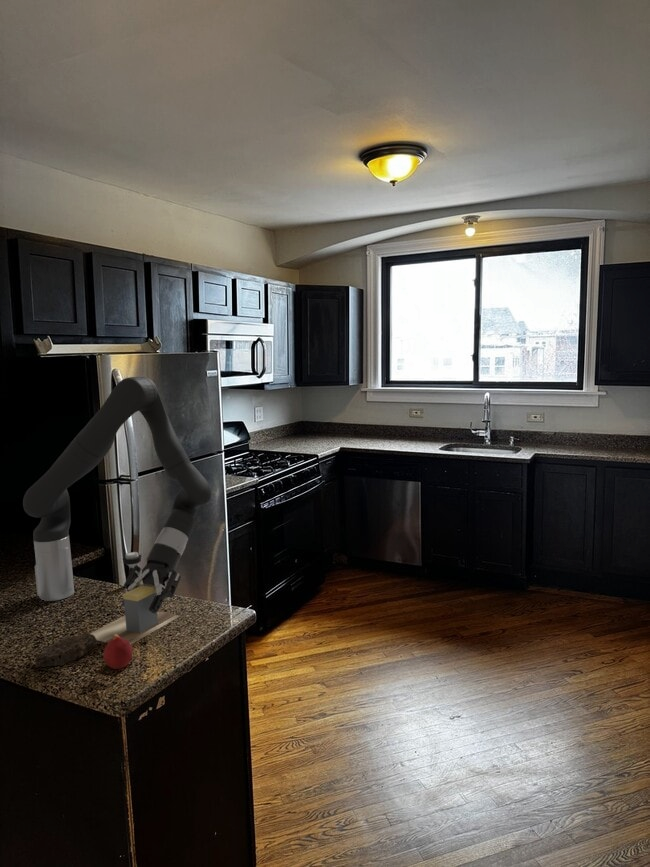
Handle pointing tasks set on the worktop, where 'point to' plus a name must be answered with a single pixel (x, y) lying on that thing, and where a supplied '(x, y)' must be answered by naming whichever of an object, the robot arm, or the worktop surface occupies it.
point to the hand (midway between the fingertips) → (138, 609)
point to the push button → (132, 561)
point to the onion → (118, 653)
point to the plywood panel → (120, 630)
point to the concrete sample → (66, 650)
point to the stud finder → (139, 609)
